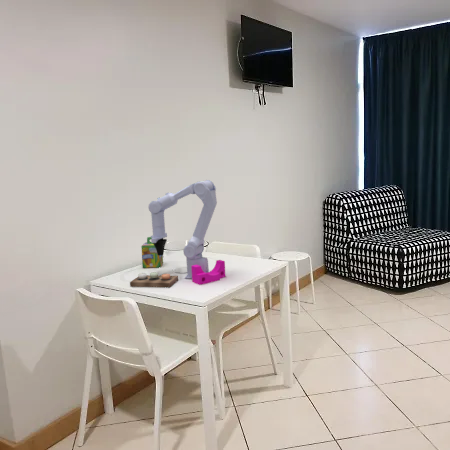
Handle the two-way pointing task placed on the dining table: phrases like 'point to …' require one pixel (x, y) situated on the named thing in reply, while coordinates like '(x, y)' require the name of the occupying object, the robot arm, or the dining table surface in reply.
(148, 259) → the chalk box
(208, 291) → the dining table surface
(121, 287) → the dining table surface
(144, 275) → the grey button
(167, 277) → the terracotta button
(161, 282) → the button panel
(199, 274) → the toy block
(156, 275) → the sage button
